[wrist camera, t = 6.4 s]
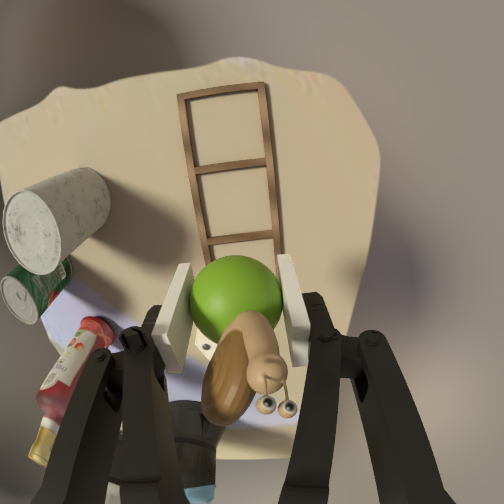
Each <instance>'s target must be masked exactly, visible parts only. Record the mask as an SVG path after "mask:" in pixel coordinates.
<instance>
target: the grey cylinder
mask: <svg viewBox="0 0 504 504" xmlns="http://www.w3.org/2000/svg"><path fill="white" fill-rule="evenodd" d="M110 209H111V198H110V193H109V189H108V187H107V185H106V183H105V181H104V179H103V178H102V177H101V176H100V175H99V174H98V173H97V172H96V171H94V170H92V169H90V168H87V167H76V168H73V169H71V170H69V171H67V172H64V173H61V174H59V175H56V176H54V177H51V178H49V179H46V180H44V181H41V182H39V183H37V184H34V185H32V186H30V187H27V188H25V189H23V190H19V191H17V192H15V193H13V194H12V195H11V196H10V198H9V199H8V200H7V203H6V205H5V208H4V212H3V230H4V234H5V239H6V242H7V244H8V247H9V249H10V251H11V252H12V254H13V256H14V257H15V258H16V260H17V261H18V262H19V263H20V264H21V265H22V266H23V267H24V268H25V269H27V270H28V271H30V272H32V273H34V274H38V275H45V274H49V273H51V272H52V271H54V270H55V269H56V267H57V266H58V265H59V264H60V263H61V262H62V261H63V260H64V259H65V258H66V257H67V256H68V255H69V254H70V253H72V252H73V251H74V250H75V249H76V248H77V247H78V246H79V245H80V244H82V243H83V242H84V241H85V240H86V239H87V238H88V237H90V236H91V235H92V234H93V233H94V232H95V231H97V230H98V229H100V228H101V227H102V226H103V225H104V224H105V222H106V221H107V219H108V217H109V213H110Z"/></svg>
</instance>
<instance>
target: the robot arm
mask: <svg viewBox="0 0 504 504" xmlns="http://www.w3.org/2000/svg"><path fill="white" fill-rule="evenodd" d="M277 259H278V277H279V285H280V288H281V291H282V298H283V307H282V309H283V315H284V321H285V326H286V332H287V338H288V344H289V350H290V356H291V362H292V367H299V366H306V365H308V368H307V374H306V381H305V387H304V393H303V398H302V404H301V409H300V415H299V420H298V425H297V430H296V435H295V440H294V444H293V449H292V453H291V458H290V462H289V466H288V470H287V475H286V479H285V482H284V485H283V487H282V491H281V495H280V498H279V502H278V504H327V502H328V495H329V479H330V472H331V466H332V459H333V451H334V443H335V434H336V424H337V414H338V402H339V386H340V378H350V380H351V383H352V386H353V390H354V394H355V397H356V401H357V405H358V408H359V412H360V416H361V420H362V424H363V428H364V432H365V436H366V440H367V444H368V449H369V453H370V457H371V462H372V466H373V471H374V476H375V481H376V485H377V490H378V496H379V501H380V504H456V503H455V502H454V501H453V499H452V498H451V497H450V496H449V495H448V493H447V492H446V491H445V490H444V488H443V484H442V481H441V477H440V474H439V471H438V468H437V464H436V461H435V458H434V455H433V452H432V449H431V446H430V443H429V440H428V437H427V434H426V432H425V429H424V426H423V423H422V421H421V418H420V416H419V413H418V411H417V408H416V405H415V403H414V401H413V398H412V395H411V393H410V390H409V388H408V386H407V383H406V381H405V379H404V376H403V374H402V372H401V370H400V367H399V365H398V363H397V361H396V358H395V356H394V354H393V352H392V350H391V348H390V346H389V343H388V341H387V340H386V337H385V336H384V335H383V334H382V333H381V332H379V331H375V330H367V331H364V332H362V333H361V334H360V336H359V337H348V336H344V335H341V334H340V332H339V331H338V330H337V329H335V328H334V326H333V323H332V321H331V318H330V315H329V313H328V310H327V307H326V305H325V302H324V300H323V297H322V296H321V295H320V294H318V293H317V292H311V293H302V294H301V290H300V287H299V283H298V280H297V277H296V273H295V270H294V267H293V264H292V260H291V257H290V254H280V255H277ZM193 283H194V276H193V272H192V267H191V263H182V264H179V265H178V268H177V270H176V273H175V275H174V277H173V280H172V282H171V285H170V287H169V290H168V292H167V295H166V297H165V300H164V302H163V305H154V306H153V307H152V308H151V309H150V310H149V311H148V312H147V315H146V317H145V319H144V322H143V324H142V326H141V327H138V326H132V327H129V328H127V329H125V330H123V331H122V332H121V334H120V335H119V339H120V341H121V343H122V345H123V347H124V349H125V350H124V351H121V352H117V353H111V351H110V350H109V349H108V348H104V347H103V348H98V349H96V350H94V351H93V352H92V353H91V354H90V355H89V357H88V359H87V362H86V364H85V366H84V368H83V370H82V373H81V375H80V377H79V380H78V382H77V384H76V387H75V389H74V391H73V394H72V396H71V399H70V401H69V404H68V406H67V409H66V411H65V414H64V416H63V419H62V422H61V425H60V427H59V430H58V433H57V436H56V439H55V442H54V445H53V448H52V451H51V454H50V457H49V461H48V464H47V468H46V471H45V475H44V478H43V482H42V486H41V488H40V489H39V491H38V492H37V494H36V495H35V497H34V498H33V500H32V501H31V503H30V504H209V503H211V502H212V501H213V499H214V490H215V487H216V485H215V473H216V448H217V445H218V443H219V441H220V439H221V436H222V434H223V432H224V430H225V426H218V425H215V424H213V423H210V422H209V421H208V420H207V419H206V417H205V416H204V414H203V411H202V406H201V403H199V402H194V401H173V402H169V400H168V392H167V383H166V377H165V375H164V369H165V367H166V369H167V371H168V373H183V368H184V363H185V358H186V353H187V348H188V344H189V339H190V334H191V330H192V325H193V321H194V320H193V318H192V315H191V312H190V304H189V298H190V291H191V288H192V285H193ZM308 360H309V361H308ZM121 423H122V428H123V431H122V430H120V427H121Z"/></svg>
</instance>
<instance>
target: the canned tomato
mask: <svg viewBox="0 0 504 504" xmlns="http://www.w3.org/2000/svg"><path fill="white" fill-rule="evenodd" d="M72 274H73V272H72V265H71V263H70V260H69V258H68V256H67V257H66V258H65V259H64V260H63V261H62V262H61V263H60V264H59V265H58V266H57V267H56V269H55V270H54V271H52V272H51V273H49V274H45V275H38V274H34V273H32V272H30V271H28V270H27V269H25V268H24V267H23V266H22V265H21V264H19V265H18V266H17V267H16V268H15V269H13V270H12V271H11V272H10V273H9V274H8V275H7V276H6V277H4V278H3V279H2V281H1V286H0V287H1V294H2V297H3V299H4V301H5V303H6V305H7V307H8V308H9V310H10V311H11V312H12V313H13V314H14V316H16V317H17V318H18V319H19V320H20V321H22V322H24V323H26V324H35V323H36V322H37V321H38V319H39V318H40V316H41V315H42V314H43V313H44V312H45V310H46V309H47V308H48V306H50V304H51V303H52V302H53V300H55V298H56V297H57V296H58V295H59V294H60V292H61V291H62V290H63V289H64V288H65V286H66V285H67V284H68V283H69V282H70V281H71V279H72Z"/></svg>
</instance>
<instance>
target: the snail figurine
mask: <svg viewBox="0 0 504 504" xmlns="http://www.w3.org/2000/svg"><path fill="white" fill-rule="evenodd" d="M189 304H190V312H191V315H192V318H193V320H194V323H195V324H196V326H197V328H198V329H199V330H200V332H201V333H202V334H203V335H204V336H205V337H207V338H208V339H209V340H211V341H212V342H214V343H216V344H217V347H216V350H215V352H214V354H213V356H212V358H211V360H210V362H209V365H208V367H207V370H206V373H205V377H204V381H203V386H202V396H201V406H202V411H203V414H204V416H205V417H206V419H207V420H208V421H209V422H210V423H213V424H215V425H218V426H225V425H229V424H231V423H233V422H235V421H236V420H238V419H239V418H240V417H241V416H242V415H243V414H244V412H245V411H246V410H247V408H248V407H249V405H250V404H251V402H252V400H253V398H254V396H255V394H256V392H257V393H260V394H265V395H264V396H262V397H260V398H259V399H258V400H257V402H256V408H257V410H258V411H259V412H260V413H262V414H270V413H272V412H273V411H274V410H275V409H276V401H275V400H274V398H272V397H271V396H268V394H272V393H274V392H276V391H278V390H279V389H280V388H281V387H282V386H284V389H285V397H286V400H285V401H282V402H281V403H280V404H279V406H278V413H279V414H280V416H282V417H284V418H291V417H293V416H294V415H295V414H296V412H297V406H296V404H295V403H294V402H293V401H291V400H289V398H288V391H287V386H286V382H285V381H286V379H287V375H288V369H287V365H286V362H285V361H284V359H283V358H282V357H281V356H280V354H279V346H278V342H277V339H276V336H275V333H274V331H273V330H274V328H275V327H276V325H277V323H278V321H279V319H280V316H281V313H282V307H283V298H282V291H281V288H280V285H279V282H278V280H277V279H276V277H275V275H274V274H273V273H272V272H271V270H270V269H269V268H267V267H266V266H265V265H264V264H262V263H261V262H259V261H257V260H255V259H253V258H250V257H246V256H240V255H232V256H225V257H222V258H219V259H217V260H214V261H213V262H211V263H209V264H208V265H207V266H206V267H204V268H203V269H202V270H201V272H200V273H199V274H198V275H197V277H196V279H195V280H194V283H193V285H192V288H191V291H190V298H189Z"/></svg>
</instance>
